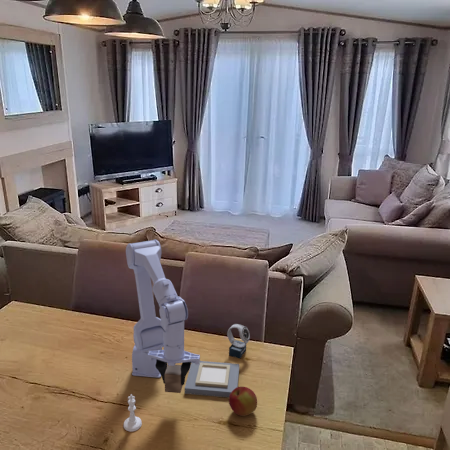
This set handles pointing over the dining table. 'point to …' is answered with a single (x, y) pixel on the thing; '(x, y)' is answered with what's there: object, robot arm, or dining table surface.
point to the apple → (243, 401)
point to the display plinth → (212, 379)
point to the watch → (237, 346)
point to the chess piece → (132, 416)
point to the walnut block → (173, 379)
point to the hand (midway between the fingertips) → (174, 382)
